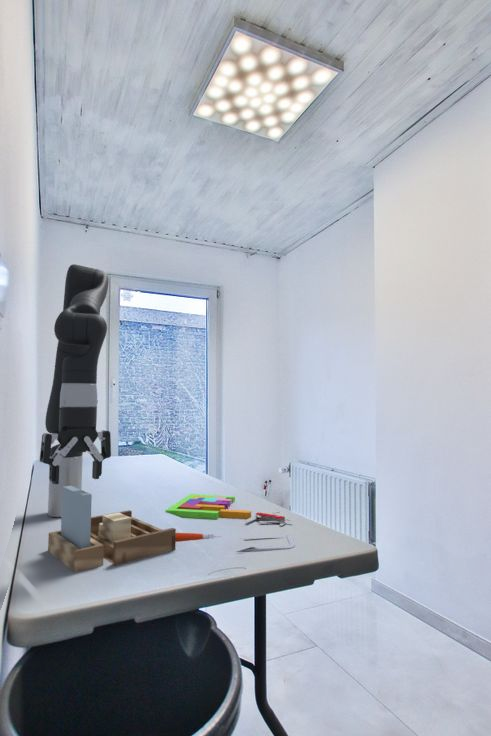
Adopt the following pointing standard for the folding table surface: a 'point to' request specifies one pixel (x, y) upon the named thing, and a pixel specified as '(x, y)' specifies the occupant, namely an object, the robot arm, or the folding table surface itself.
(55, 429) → the robot arm
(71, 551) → the stand
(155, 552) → the rack
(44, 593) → the folding table surface
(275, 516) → the swiss army knife
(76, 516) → the panel
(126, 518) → the offcut short
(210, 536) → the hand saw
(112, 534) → the offcut mid
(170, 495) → the folding table surface
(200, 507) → the toy blocks
